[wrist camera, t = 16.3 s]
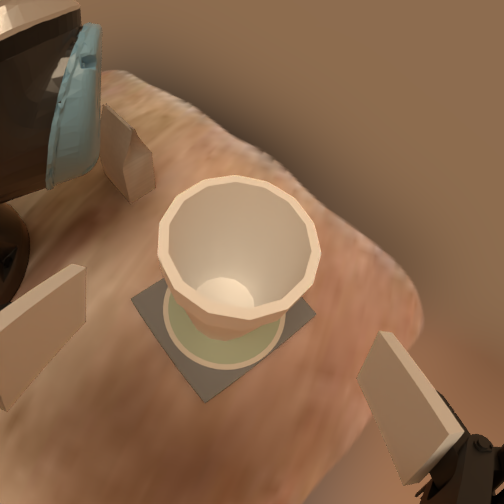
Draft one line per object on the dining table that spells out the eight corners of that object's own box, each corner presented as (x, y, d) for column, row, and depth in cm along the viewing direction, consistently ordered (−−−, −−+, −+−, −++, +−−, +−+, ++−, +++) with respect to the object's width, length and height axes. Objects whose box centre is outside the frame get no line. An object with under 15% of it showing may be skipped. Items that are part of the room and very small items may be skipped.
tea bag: (130, 204, 33) (116, 139, 25) (104, 173, 35) (89, 111, 26) (155, 188, 35) (148, 122, 26) (127, 159, 36) (118, 97, 28)
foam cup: (288, 299, 30) (343, 228, 19) (237, 377, 26) (270, 354, 14) (210, 247, 31) (221, 155, 20) (152, 316, 27) (123, 249, 16)
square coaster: (131, 300, 28) (130, 298, 27) (241, 231, 34) (242, 228, 33) (204, 403, 25) (205, 403, 24) (314, 315, 30) (317, 313, 30)
